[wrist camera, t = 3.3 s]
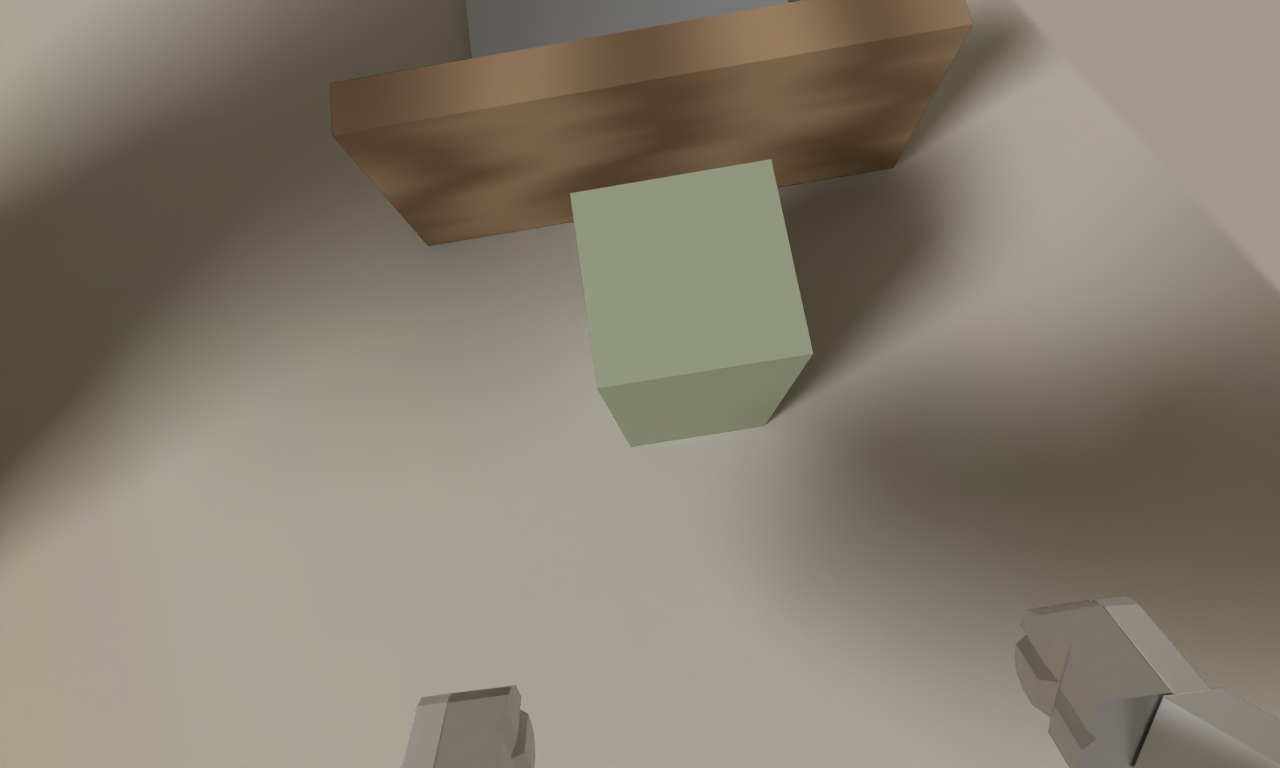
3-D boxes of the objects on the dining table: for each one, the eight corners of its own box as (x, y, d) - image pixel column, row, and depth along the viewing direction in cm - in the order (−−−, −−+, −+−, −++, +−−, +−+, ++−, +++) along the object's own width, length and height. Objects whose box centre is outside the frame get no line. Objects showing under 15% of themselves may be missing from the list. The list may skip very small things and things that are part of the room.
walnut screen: (427, 245, 25) (332, 135, 18) (424, 206, 25) (329, 83, 19) (893, 167, 25) (972, 23, 18) (883, 128, 25) (957, -27, 18)
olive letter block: (630, 447, 23) (597, 388, 14) (611, 315, 24) (569, 185, 15) (764, 425, 23) (813, 353, 14) (738, 294, 24) (769, 151, 15)
